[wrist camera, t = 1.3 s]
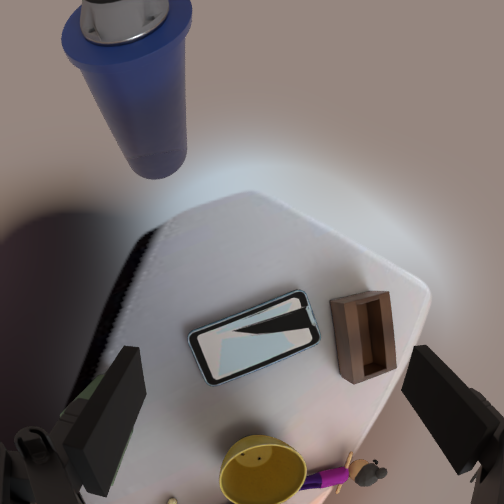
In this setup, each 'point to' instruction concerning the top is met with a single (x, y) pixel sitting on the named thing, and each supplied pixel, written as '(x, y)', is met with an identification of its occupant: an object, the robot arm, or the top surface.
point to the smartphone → (254, 338)
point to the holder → (364, 335)
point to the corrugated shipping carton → (172, 501)
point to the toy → (346, 475)
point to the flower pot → (261, 471)
